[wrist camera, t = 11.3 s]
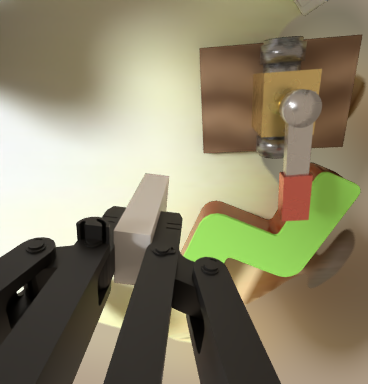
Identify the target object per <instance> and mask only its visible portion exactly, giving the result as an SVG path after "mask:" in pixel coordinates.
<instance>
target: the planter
mask: <svg viewBox="0 0 368 384" xmlns="http://www.w3.org/2000/svg"><path fill="white" fill-rule="evenodd" d="M309 173H311V174H312V175H313V178H312V189H311V199H310V210H309V220H300V221H281V219H280V217H279V215H278V210H277V212H276V213H275V215H274V216H273V218H272V219H270V220H266V219H264V218H261V217H259V216H256V215H254V214H251V213H249V212H246V211H244V210H241V209H239V208H236V207H234V206H231V205H229V204H226V203H224V202H220V201H211V202H209V203H207V204H205V205H204V207H203V208H202V210H201V212H200V214H199V216H198V218H197V220H196V222H195V224H194V226H193V228H192V230H191V232H190V234H189V236H188V238H187V240H186V242H185V244H184V246H183V248H182V250H181V254H182V255H183V256H184V257H185V258H187V259H189V260H191V261H194V262H195V261H196V260H197V259H199V258H202V257H213V258H216V259H218V260H220V261H221V262H223V263H225V261H226V259H227V258H232V259H235V260H238V261H240V262H243V263H246V264H248V265H251V266H253V267H256V268H259V269H261V270H264V271H267V272H269V273H272V274H275V275H277V276H282V277H288V276H293V275H295V274H297V273H299V272H300V271H301V270H302V269H303V268H304V267H305V265H306V264H307V263H308V261H309V260H310V259H311V258H312V256H313V255H314V254H315V252H316V251H317V250H318V248H319V247H320V246H321V244H322V243H323V242H324V240H325V239H326V238H327V236H328V235H329V234H330V233H331V231H332V230H333V229H334V227H335V226H336V225H337V223H338V222H339V221H340V220H341V218H342V217H343V216H344V214H345V213H346V212H347V210H348V209H349V208H350V206H351V205H352V204H353V203H354V201H355V200H356V199H357V197H358V196H359V194H360V187H359V186H358V185H357V184H355V183H353V182H351V181H349V180H346V179H344V178H343V177H342V176H340V175H339V174H337V173H336V172H334V171H332V170H330V169H327V168H325V167H323V166H320V165H318V164H315V163H312V162H310V167H309Z"/></svg>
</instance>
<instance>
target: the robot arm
mask: <svg viewBox="0 0 368 384" xmlns="http://www.w3.org/2000/svg"><path fill="white" fill-rule="evenodd" d="M168 184H169V176H163V175H155V174H147V173H145V175H144V177H143V179H142V181H141V182H140V184H139V186H138V188H137V190H136V191H135V193H134V195H133V197H132V199H131V200H130V202H129V204H128V206H127V208H125V207H117V206H113V207H112V208H110V209H108V210H107V211H106V212H105V214H104V215H103V217H102V218H101V217H88V218H84V219H82V220H80V221H79V222H77V223H76V226H77V239H78V241H77V242H76V243H75V245H72V246H63V247H56V246H55V242H54V241H53V240H51V239H49V238H44V237H42V238H34V239H30V240H28V241H26V242H24V243H22V244H20V245H19V246H17V247H16V248H14V249H13V250H11V251H10V252H8V253H6V254H5V255H3V256H2V257H0V384H72V383H73V381H74V378H75V376H76V374H77V371H78V369H79V366H80V364H81V362H82V359H83V357H84V354H85V352H86V349H87V347H88V345H89V342H90V340H91V337H92V334H93V332H94V330H95V327H96V325H97V323H98V320H99V318H100V315H101V313H102V311H103V308H104V306H105V303H106V301H107V298H108V296H109V294H110V290H111V280H112V277H113V275H114V282H115V283H123V284H131V285H135V286H134V289H133V292H132V295H131V298H130V301H129V305H128V308H127V311H126V314H125V317H124V320H123V323H122V327H121V330H120V333H119V336H118V339H117V343H116V346H115V349H114V352H113V355H112V358H111V361H110V365H109V368H108V371H107V374H106V377H105V380H104V384H162V377H163V370H164V361H165V354H166V346H167V339H168V331H169V324H170V316H171V309H172V308H174V309H176V310H178V311H181V312H183V313H185V314H186V318H187V323H188V328H189V332H190V337H191V342H192V346H193V351H194V356H195V360H196V365H197V369H198V374H199V379H200V384H281V383H280V380H279V378H278V376H277V374H276V372H275V370H274V368H273V365H272V363H271V361H270V359H269V357H268V355H267V353H266V350H265V348H264V346H263V344H262V342H261V340H260V338H259V335H258V333H257V331H256V329H255V327H254V325H253V323H252V320H251V319H250V316H249V314H248V312H247V310H246V308H245V305H244V303H243V301H242V299H241V297H240V295H239V293H238V290H237V288H236V286H235V284H234V282H233V280H232V278H231V275H230V273H229V271H228V269H227V267H226V266H225V264H224V263H223V262H221V261H220V260H218V259H216V258H213V257H202V258H199V259H197V260H196V261H195V262H194V261H191V260H189V259H187V258H185V257H184V256H183V255H182V254H181V253H180V251H179V244H180V236H181V228H182V217H181V215H180V214H179V213H172V212H166V207H167V195H168ZM23 286H24V290H23V291H22V292H20V293H18V294H17V292H16V291H18V290H19V289H20V288H21V287H23Z"/></svg>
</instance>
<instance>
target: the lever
mask: <svg viewBox="0 0 368 384" xmlns="http://www.w3.org/2000/svg"><path fill="white" fill-rule="evenodd" d="M321 110H322V101H321V98H320V97H319V95H318V94H317V93H316V91H312V90H306V89H296V90H293V91H291V92H289V93H287V95H286V96H285V97H284V98H283V100H282V101H281V104H280V109H279V111H280V116H281V118H282V119H283V121H284V122H285V140H284V162H283V163H284V164H283V172H280V175H279V199H278V215H279V217H280V219H281V221H300V220H309V210H310V199H311V189H312V178H313V175H312V174H311V173H309V167H310V155H311V144H312V133H313V123H314V122H315V121H316V120H317V118H318V117H319V115H320V113H321Z"/></svg>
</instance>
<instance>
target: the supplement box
mask: <svg viewBox="0 0 368 384" xmlns="http://www.w3.org/2000/svg"><path fill="white" fill-rule="evenodd" d="M326 1H328V0H294V2H295V3H296V5H297V7H298V8H299V10H300V11H301V13H302V14H303V16H306V15H307V14H308V13H310V12H311V11H313V10H314V9H316V8H317V7H319V6H320V5H322V4H323V3H325V2H326Z"/></svg>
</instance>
